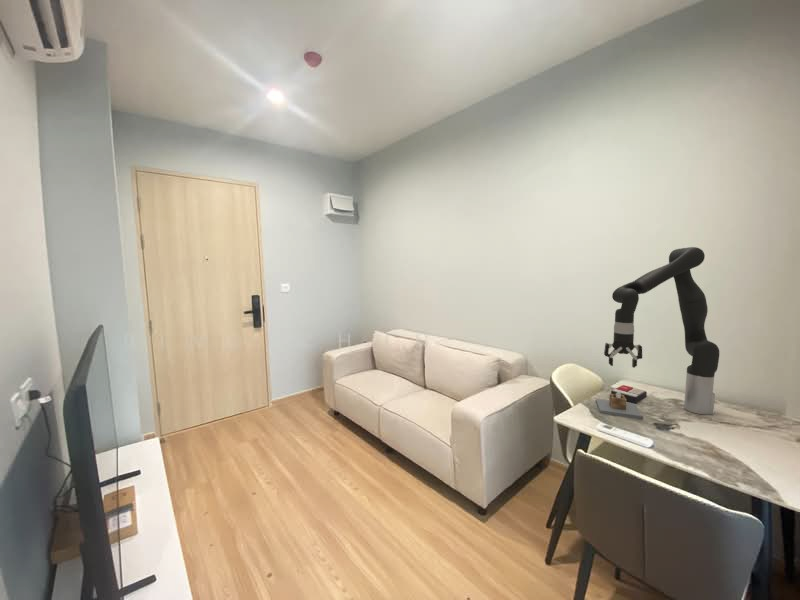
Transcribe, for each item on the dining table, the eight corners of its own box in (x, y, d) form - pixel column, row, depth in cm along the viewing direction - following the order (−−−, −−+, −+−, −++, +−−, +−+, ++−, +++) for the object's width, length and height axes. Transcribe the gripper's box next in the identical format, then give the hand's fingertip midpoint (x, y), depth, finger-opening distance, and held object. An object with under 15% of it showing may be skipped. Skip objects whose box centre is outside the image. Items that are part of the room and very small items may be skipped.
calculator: (647, 390, 164) (636, 396, 155) (646, 398, 164) (635, 404, 155) (622, 384, 173) (610, 389, 164) (621, 391, 173) (610, 397, 164)
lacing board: (634, 406, 153) (634, 403, 152) (642, 419, 140) (642, 416, 140) (595, 401, 159) (595, 398, 159) (599, 413, 147) (600, 410, 146)
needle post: (620, 404, 150) (620, 391, 149) (620, 405, 148) (621, 393, 147) (615, 403, 151) (615, 391, 150) (615, 405, 149) (616, 392, 148)
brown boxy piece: (623, 405, 151) (623, 395, 150) (625, 410, 146) (626, 399, 145) (609, 403, 153) (609, 393, 153) (611, 408, 148) (611, 397, 148)
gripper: (640, 331, 147) (638, 365, 148) (604, 329, 153) (602, 362, 154) (645, 334, 140) (643, 370, 142) (606, 332, 146) (605, 367, 147)
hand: (622, 366), depth 148 cm, fingers open, 8 cm apart
